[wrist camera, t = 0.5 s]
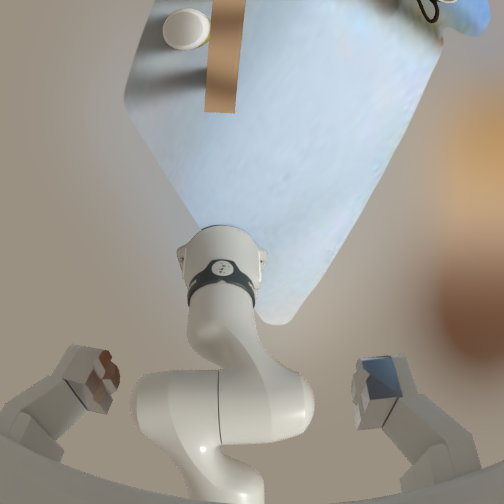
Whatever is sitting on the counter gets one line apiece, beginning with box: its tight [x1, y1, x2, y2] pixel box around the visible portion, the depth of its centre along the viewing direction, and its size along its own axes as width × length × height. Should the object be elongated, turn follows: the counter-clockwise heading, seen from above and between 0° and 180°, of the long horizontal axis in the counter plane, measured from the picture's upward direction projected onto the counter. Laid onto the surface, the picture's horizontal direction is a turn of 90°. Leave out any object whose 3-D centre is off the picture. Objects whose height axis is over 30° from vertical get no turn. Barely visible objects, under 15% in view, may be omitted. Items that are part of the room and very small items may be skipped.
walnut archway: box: [204, 0, 246, 113], centre depth 31 cm, size 18×3×20 cm, turn 174°
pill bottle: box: [163, 8, 211, 50], centre depth 34 cm, size 6×6×11 cm
